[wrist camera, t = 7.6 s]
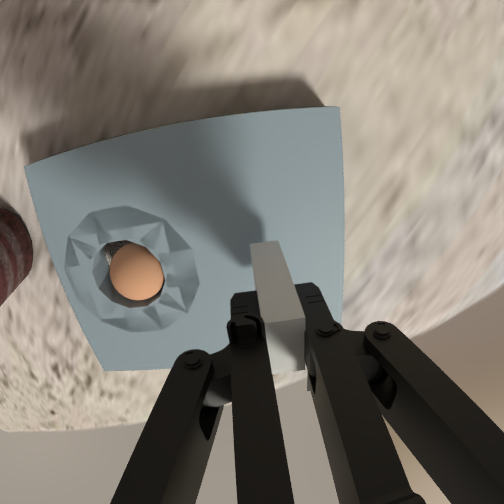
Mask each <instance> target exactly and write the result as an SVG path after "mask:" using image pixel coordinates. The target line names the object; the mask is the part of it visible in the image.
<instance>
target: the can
mask: <svg viewBox="0 0 504 504" xmlns="http://www.w3.org/2000/svg"><path fill="white" fill-rule="evenodd" d="M32 262H33V246H32V240H31V238H30V235H29V232H28V230H27V229H26V227H25V225H24V224H23V222H22V221H21V220H20V219H19V218H18V217H17V216H16V215H15V214H13V213H11V212H9V211H7V210H5V209H1V208H0V306H1V305H2V304H3V303H4V301H5V300H6V299H7V298H8V297H9V296H10V294H11V293H12V292H13V291H14V290H15V289H16V288H17V286H18V285H19V284H20V283H21V282H22V281H23V280H24V279H25V278H26V277H27V275H28V274H29V272H30V270H31V268H32Z"/></svg>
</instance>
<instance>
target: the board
mask: <svg viewBox="0 0 504 504" xmlns="http://www.w3.org/2000/svg"><path fill="white" fill-rule="evenodd" d="M24 169H25V173H26V177H27V181H28V185H29V189H30V193H31V196H32V200H33V204H34V207H35V210H36V214H37V217H38V220H39V223H40V227H41V230H42V233H43V236H44V239H45V242H46V244H47V247H48V250H49V253H50V256H51V258H52V261H53V264H54V266H55V269H56V271H57V274H58V276H59V279H60V281H61V284H62V286H63V288H64V291H65V293H66V295H67V298H68V300H69V302H70V305H71V307H72V309H73V311H74V313H75V315H76V318H77V320H78V322H79V324H80V326H81V328H82V330H83V332H84V334H85V336H86V338H87V340H88V342H89V344H90V346H91V348H92V349H93V351H94V353H95V355H96V357H97V359H98V361H99V362H100V364H101V366H102V368H103V370H104V371H127V370H152V369H169V368H172V367H173V364H174V362H175V360H176V359H177V357H178V356H179V355H180V354H182V353H183V352H185V351H188V350H191V349H200V350H204V351H206V352H207V353H209V355H210V354H213V353H215V352H218V351H220V350H222V349H224V348H225V347H226V346H227V345H228V344H229V338H228V333H227V328H226V326H227V322H228V321H229V320H230V319H231V312H230V300H231V298H232V296H233V295H234V293H239V292H247V291H255V285H254V276H253V268H252V259H251V251H250V244H252V243H260V242H268V241H276V240H278V241H279V244H280V247H281V250H282V252H283V255H284V258H285V261H286V263H287V266H288V269H289V272H290V275H291V278H292V280H293V283H294V284H301V283H308V282H312V283H314V284H315V285H316V286H318V287H319V289H320V291H321V293H322V296H323V297H324V299H325V301H326V304H327V306H328V308H329V310H330V312H331V315H332V317H333V319H334V321H336V322H338V323H340V324H341V322H342V305H343V282H344V237H345V217H344V172H343V150H342V133H341V119H340V107H331V106H323V107H303V108H288V109H276V110H265V111H256V112H247V113H239V114H231V115H224V116H217V117H210V118H204V119H198V120H192V121H186V122H181V123H176V124H170V125H165V126H161V127H156V128H151V129H147V130H142V131H138V132H134V133H129V134H125V135H121V136H117V137H113V138H110V139H106V140H102V141H99V142H95V143H92V144H88V145H85V146H81V147H78V148H75V149H72V150H68V151H65V152H62V153H59V154H56V155H53V156H50V157H47V158H44V159H42V160H39V161H37V162H34V163H32V164H29V165H27V166H24ZM122 240H128V241H131V242H134V243H136V244H139V245H142V246H145V247H146V248H147V249H148V250H149V251H150V252H151V253H152V254H153V255H154V256H155V257H156V258H157V259H158V260H159V261H160V263H161V266H162V270H163V274H164V277H165V282H164V284H163V286H162V288H161V289H160V290H159V291H158V292H157V293H156V294H155V295H154V296H152V297H150V298H148V299H145V300H132V299H129V298H126V297H124V296H123V295H121V294H120V293H119V292H118V291H117V290H116V289H115V287H114V285H113V284H112V281H111V278H110V268H109V265H108V262H107V259H106V256H105V250H106V245H107V243H110V242H116V241H122Z"/></svg>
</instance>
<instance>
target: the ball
mask: <svg viewBox="0 0 504 504" xmlns="http://www.w3.org/2000/svg"><path fill="white" fill-rule="evenodd" d="M110 278H111V281H112V284H113V285H114V287H115V289H116V290H117V291H118V292H119V293H120V294H121V295H123V296H124V297H126V298H129V299H132V300H145V299H148V298H150V297H152V296H154V295H155V294H156V293H157V292H158V291H159V290H160V289H161V288H162V286H163V284H164V282H165V277H164V274H163V270H162V266H161V263H160V261H159V260H158V259H157V258H156V257H155V256H154V255H153V254H152V253H151V252H150V251H149V250H148V249H147V248H146V247H145V246H142V245H139V244H136V243H134V242H131V243H128V244H126V245H124V246H122V247H121V248H120V249H119V250H118V251H117V252H116V253H115V254H114V256H113V258H112V260H111V264H110Z"/></svg>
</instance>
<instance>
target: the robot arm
mask: <svg viewBox="0 0 504 504" xmlns="http://www.w3.org/2000/svg"><path fill="white" fill-rule="evenodd" d="M250 251H251V259H252V268H253V276H254V285H255V291H247V292H239V293H234V295H233V296H232V298H231V300H230V312H231V319H230V320H229V321H228V322H227V326H226V328H227V333H228V338H229V344H228V345H227V346H226V347H225V348H224V349H222V350H220V351H218V352H215V353H213V354H210V355H209V353H207V352H206V351H204V350H200V349H191V350H188V351H185V352H183V353H182V354H180V355H179V356H178V357H177V359H176V360H175V362H174V364H173V367H172V369H171V371H170V373H169V375H168V377H167V379H166V381H165V384H164V386H163V388H162V390H161V392H160V394H159V396H158V399H157V401H156V403H155V405H154V407H153V409H152V412H151V414H150V416H149V418H148V420H147V422H146V425H145V427H144V429H143V431H142V433H141V436H140V438H139V440H138V442H137V444H136V447H135V449H134V451H133V453H132V455H131V458H130V460H129V462H128V464H127V467H126V469H125V471H124V473H123V476H122V478H121V480H120V482H119V485H118V487H117V489H116V492H115V494H114V496H113V498H112V501H111V503H110V504H195V503H196V499H197V496H198V493H199V489H200V486H201V482H202V479H203V476H204V473H205V469H206V466H207V462H208V459H209V456H210V452H211V449H212V445H213V442H214V439H215V435H216V432H217V428H218V425H219V421H220V418H221V414H222V411H223V407H224V404H227V403H230V402H232V414H233V433H234V453H235V469H236V486H237V501H238V504H294V499H293V493H292V488H291V481H290V475H289V469H288V464H287V459H286V452H285V446H284V440H283V434H282V429H281V423H280V417H279V411H278V405H277V400H276V393H275V388H274V382H273V376H272V375H273V374H280V373H286V372H293V371H299V370H305V362H306V366H307V370H308V382H307V391H310V390H311V394H312V398H313V402H314V405H315V409H316V413H317V417H318V420H319V424H320V428H321V432H322V436H323V440H324V444H325V448H326V452H327V456H328V459H329V463H330V467H331V471H332V475H333V479H334V483H335V487H336V492H337V496H338V500H339V503H340V504H426V503H425V501H424V499H423V498H422V497H421V496H420V495H419V494H416V493H414V492H413V491H412V489H411V487H410V485H409V482H408V480H407V477H406V475H405V472H404V469H403V467H402V464H401V461H400V459H399V457H398V454H397V451H396V449H395V446H394V444H393V441H392V439H391V436H390V434H389V431H388V429H387V426H386V424H385V422H384V419H383V417H384V418H385V419H386V420H387V422H388V423H389V424H390V426H391V427H392V428H393V429H394V431H395V432H396V433H397V434H398V436H399V437H400V438H401V440H402V441H403V442H404V443H405V445H406V446H407V447H408V449H409V450H410V451H411V452H412V454H413V455H414V456H415V457H416V459H417V460H418V461H419V463H420V464H421V465H422V466H423V468H424V469H425V470H426V472H427V473H428V474H429V475H430V477H431V478H432V479H433V481H434V482H435V483H436V485H437V486H438V487H439V488H440V490H441V491H442V492H443V493H444V494H445V496H446V497H447V499H448V500H449V501H450V503H451V504H504V432H503V431H502V430H501V429H500V428H499V427H498V426H497V425H496V424H495V423H494V422H493V421H492V420H491V419H490V418H489V417H488V416H487V415H486V414H485V413H484V412H483V411H482V410H481V409H480V408H479V407H478V406H477V405H476V404H475V403H474V402H473V401H472V400H471V399H470V398H469V396H467V394H466V393H464V392H463V391H462V390H461V389H460V388H459V387H458V386H457V385H456V384H455V383H454V382H453V381H452V380H451V379H450V378H449V377H448V376H447V375H446V374H445V373H444V372H443V371H442V370H441V369H440V368H439V367H438V366H437V365H436V364H435V363H434V362H433V361H432V360H431V359H430V358H429V357H428V356H427V355H425V354H424V353H423V352H422V351H421V350H420V349H419V348H418V347H417V346H416V345H415V344H414V343H413V342H412V341H411V340H410V339H409V338H408V337H406V336H405V335H404V334H403V333H402V332H401V331H400V330H399V329H398V328H397V327H396V326H394V325H393V324H391V323H388V322H385V321H377V322H373V323H371V324H369V325H368V326H367V327H366V329H365V331H350V330H346V329H344V328H343V327H342V326H341V324H340V323H338V322H336V321H334V319H333V317H332V315H331V312H330V310H329V308H328V306H327V304H326V301H325V299H324V297H323V296H322V293H321V291H320V289H319V287H318V286H316V285H315V284H314V283H312V282H308V283H301V284H294V283H293V280H292V278H291V275H290V272H289V269H288V266H287V263H286V261H285V258H284V255H283V252H282V250H281V247H280V244H279V241H278V240H276V241H268V242H260V243H252V244H250ZM382 415H383V417H382Z"/></svg>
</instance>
